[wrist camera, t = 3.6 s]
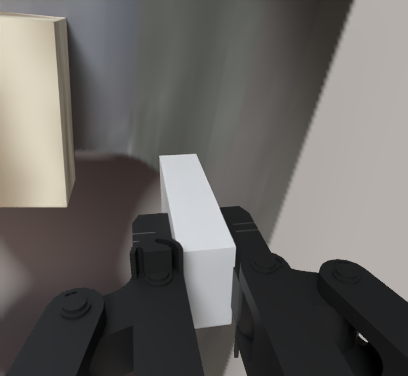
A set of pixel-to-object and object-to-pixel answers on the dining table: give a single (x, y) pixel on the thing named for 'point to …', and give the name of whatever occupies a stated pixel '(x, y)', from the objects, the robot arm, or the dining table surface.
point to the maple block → (35, 112)
